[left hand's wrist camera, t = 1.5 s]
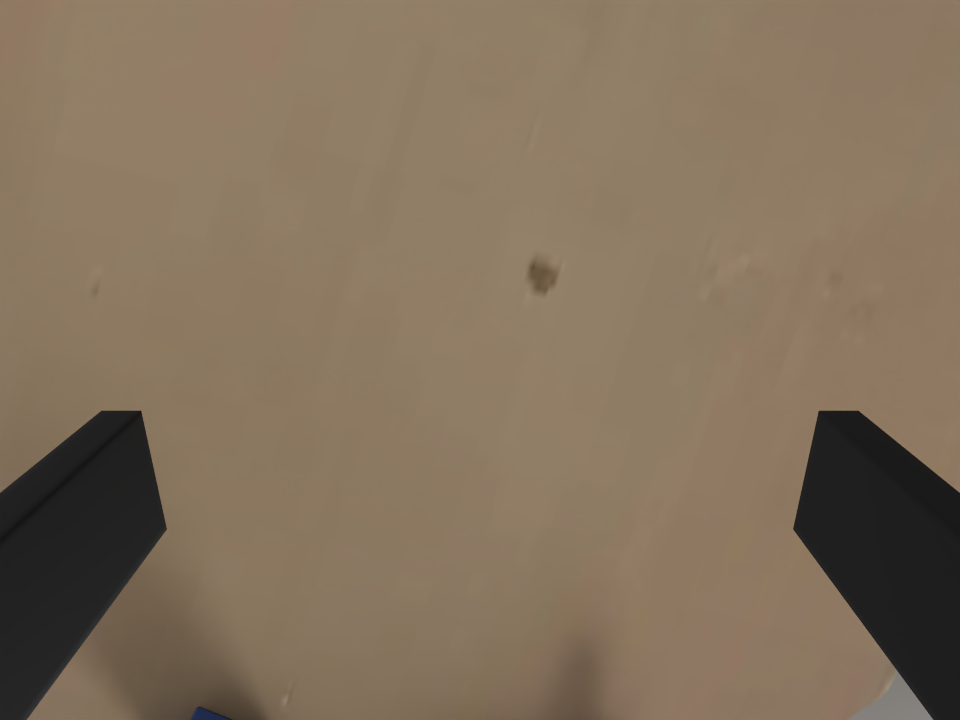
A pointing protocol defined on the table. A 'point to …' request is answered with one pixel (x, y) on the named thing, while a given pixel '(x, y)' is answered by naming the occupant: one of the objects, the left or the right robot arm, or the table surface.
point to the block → (206, 715)
